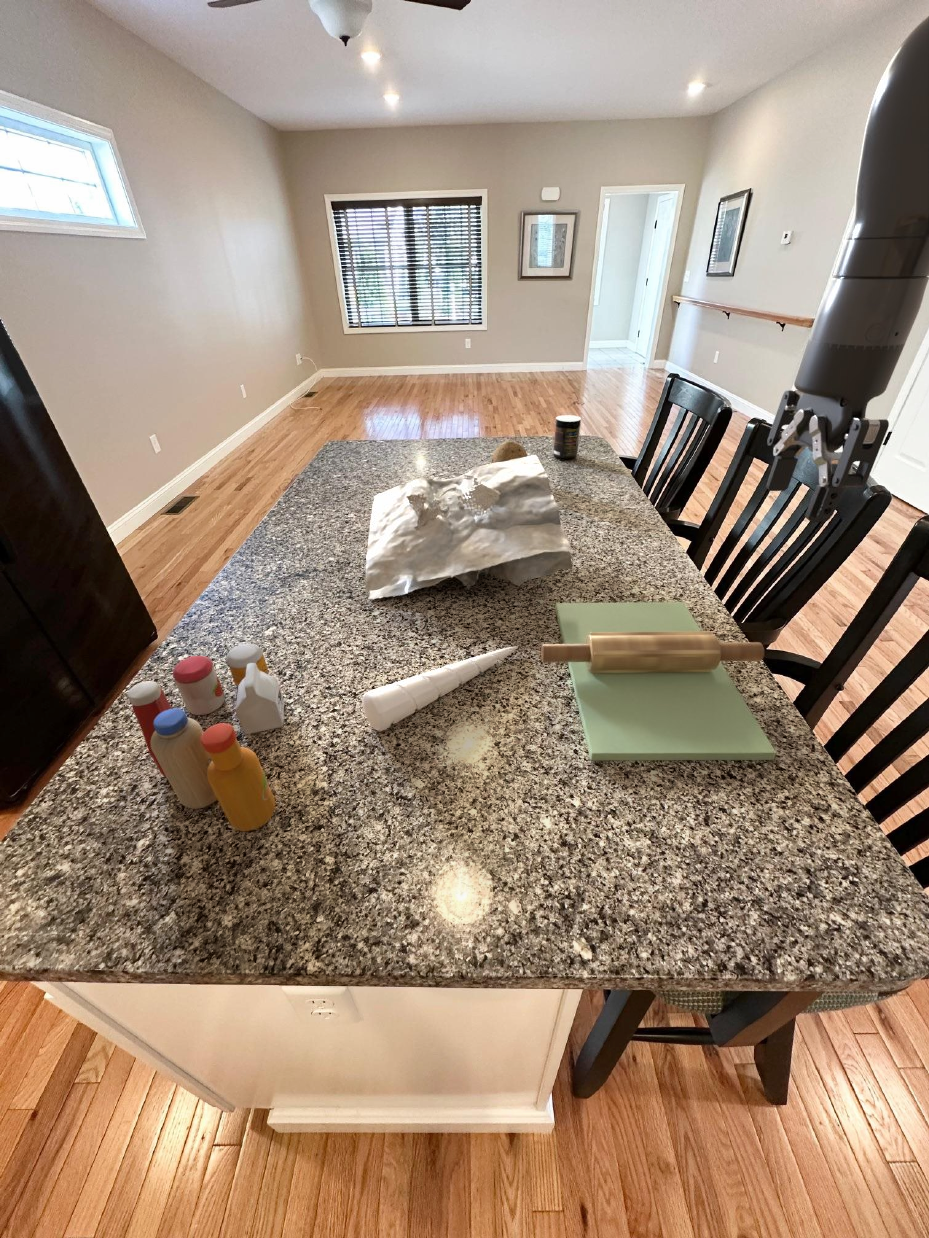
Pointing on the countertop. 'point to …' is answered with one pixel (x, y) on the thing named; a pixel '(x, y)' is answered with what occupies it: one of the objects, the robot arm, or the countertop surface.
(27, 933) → the countertop surface
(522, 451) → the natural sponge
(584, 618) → the pastry board
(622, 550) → the countertop surface
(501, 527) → the white terrain model
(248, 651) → the toy food
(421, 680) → the unicorn horn
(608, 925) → the countertop surface
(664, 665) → the rolling pin
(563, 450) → the supplement container
